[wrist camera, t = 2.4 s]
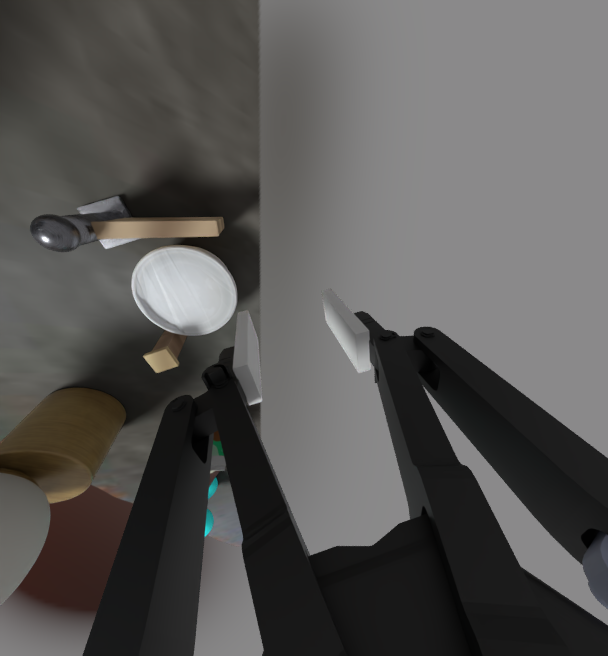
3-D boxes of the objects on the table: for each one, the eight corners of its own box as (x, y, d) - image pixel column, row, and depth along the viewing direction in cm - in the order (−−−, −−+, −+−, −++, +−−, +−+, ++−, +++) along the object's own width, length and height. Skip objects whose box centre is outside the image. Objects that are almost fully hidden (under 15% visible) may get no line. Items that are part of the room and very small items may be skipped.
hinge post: (108, 248, 27) (39, 272, 18) (80, 207, 25) (-15, 213, 16) (144, 237, 28) (94, 256, 19) (120, 196, 25) (49, 194, 16)
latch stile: (176, 335, 34) (156, 373, 27) (166, 321, 33) (143, 356, 26) (193, 330, 35) (178, 366, 27) (184, 315, 33) (165, 349, 26)
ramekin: (128, 280, 30) (107, 294, 25) (187, 217, 28) (175, 221, 23) (202, 332, 35) (195, 352, 31) (254, 283, 33) (255, 296, 29)
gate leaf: (129, 230, 26) (97, 239, 21) (125, 216, 26) (90, 222, 20) (224, 228, 28) (218, 236, 23) (222, 216, 28) (216, 220, 22)
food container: (198, 408, 42) (186, 462, 34) (230, 417, 45) (226, 468, 36) (173, 450, 46) (155, 508, 37) (203, 455, 48) (194, 511, 40)
